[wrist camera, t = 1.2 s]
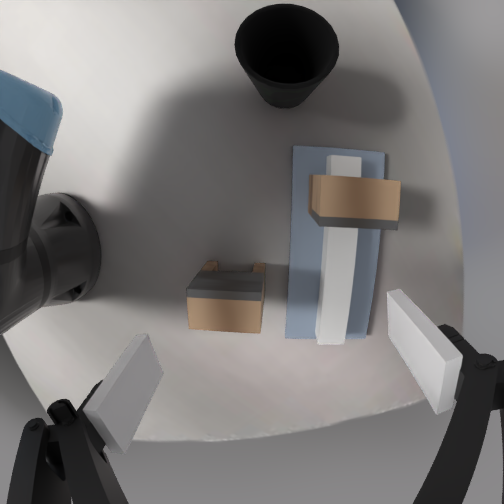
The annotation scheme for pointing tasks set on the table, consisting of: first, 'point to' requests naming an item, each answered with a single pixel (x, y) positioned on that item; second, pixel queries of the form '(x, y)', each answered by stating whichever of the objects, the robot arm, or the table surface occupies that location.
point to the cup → (286, 52)
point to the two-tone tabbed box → (226, 299)
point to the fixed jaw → (354, 202)
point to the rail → (313, 247)
